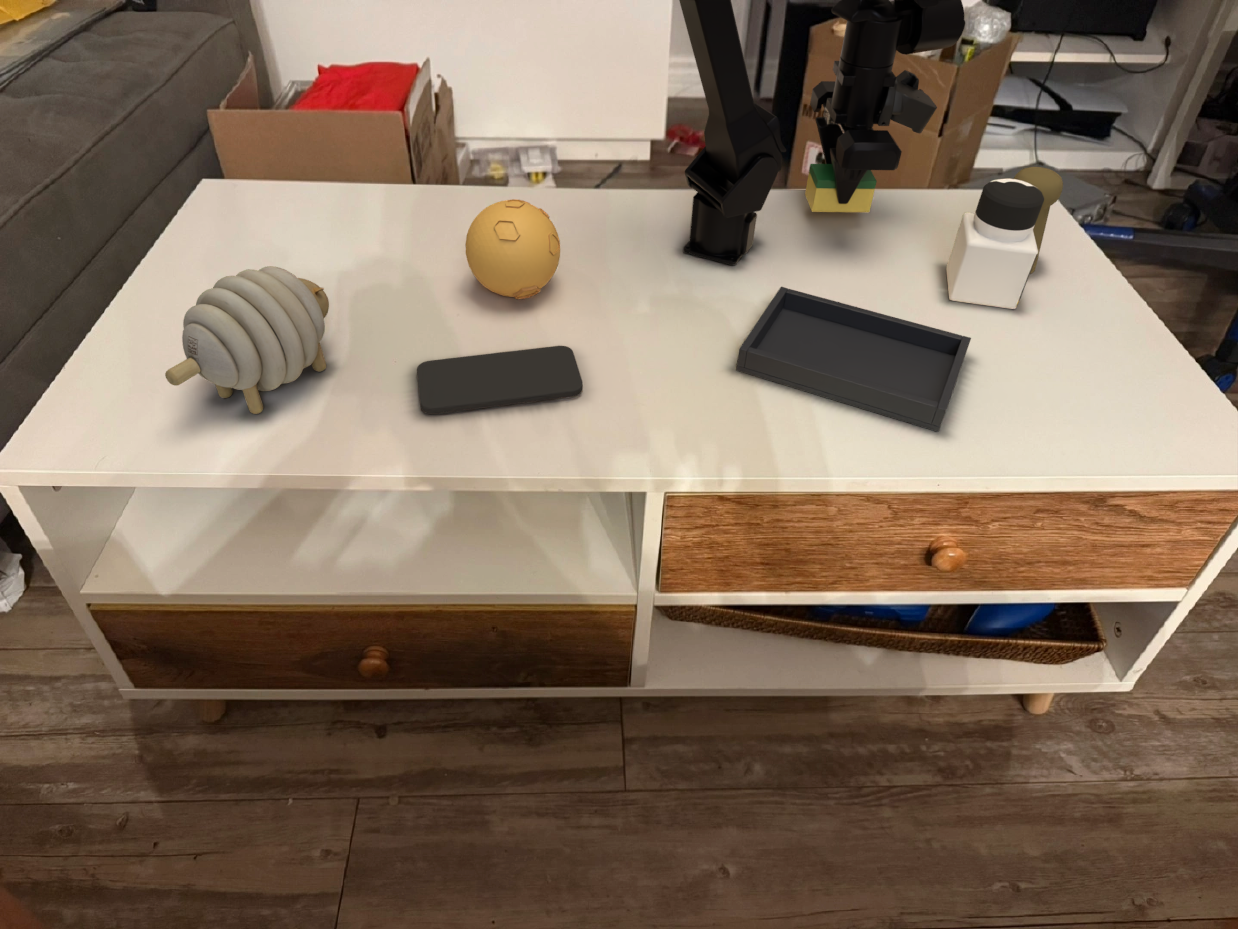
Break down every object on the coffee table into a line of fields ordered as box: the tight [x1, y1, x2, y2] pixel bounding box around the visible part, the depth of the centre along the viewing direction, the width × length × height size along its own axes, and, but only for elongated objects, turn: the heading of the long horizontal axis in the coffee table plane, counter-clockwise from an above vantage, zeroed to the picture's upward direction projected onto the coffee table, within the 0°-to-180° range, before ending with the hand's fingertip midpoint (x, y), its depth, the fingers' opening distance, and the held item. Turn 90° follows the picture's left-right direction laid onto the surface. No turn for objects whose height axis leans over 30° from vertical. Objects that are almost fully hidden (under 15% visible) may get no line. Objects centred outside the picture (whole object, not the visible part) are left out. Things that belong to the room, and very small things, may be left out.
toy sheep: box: [164, 265, 330, 415], centre depth 79 cm, size 11×17×11 cm, turn 152°
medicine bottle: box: [945, 178, 1044, 310], centre depth 94 cm, size 7×7×12 cm
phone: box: [416, 345, 584, 415], centre depth 84 cm, size 7×1×15 cm
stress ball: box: [464, 198, 561, 300], centre depth 92 cm, size 10×10×10 cm
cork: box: [1012, 166, 1064, 275], centre depth 99 cm, size 6×6×11 cm
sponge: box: [804, 163, 878, 213], centre depth 106 cm, size 7×4×4 cm, turn 92°
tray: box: [735, 286, 972, 433], centre depth 87 cm, size 20×13×3 cm, turn 64°
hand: (838, 193), depth 107 cm, fingers closed on sponge, 4 cm apart
